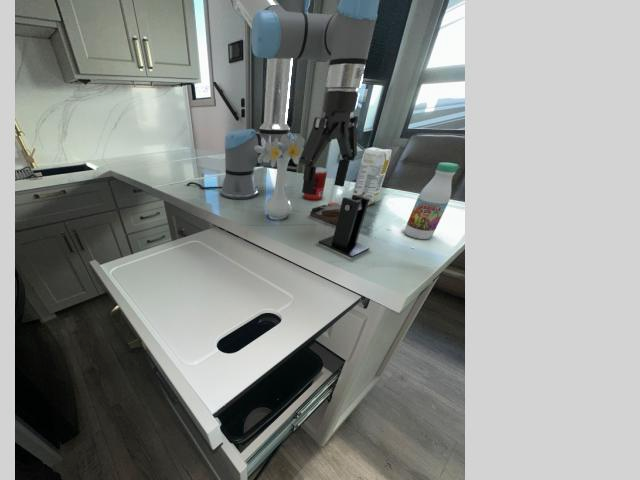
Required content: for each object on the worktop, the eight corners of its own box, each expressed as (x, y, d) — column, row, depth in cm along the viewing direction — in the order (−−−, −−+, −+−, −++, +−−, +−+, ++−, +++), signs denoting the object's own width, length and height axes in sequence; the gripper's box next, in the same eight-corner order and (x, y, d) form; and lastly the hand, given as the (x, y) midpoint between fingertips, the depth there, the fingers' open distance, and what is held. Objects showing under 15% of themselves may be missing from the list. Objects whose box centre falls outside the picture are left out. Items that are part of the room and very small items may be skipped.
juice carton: (368, 207, 102) (384, 151, 91) (348, 201, 108) (362, 148, 96) (377, 203, 106) (395, 149, 95) (358, 198, 111) (373, 146, 100)
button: (324, 208, 90) (326, 203, 89) (331, 206, 92) (332, 201, 91) (333, 211, 88) (334, 206, 87) (340, 209, 90) (341, 204, 88)
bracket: (318, 245, 76) (328, 195, 68) (335, 238, 80) (347, 190, 72) (351, 260, 69) (367, 207, 61) (368, 251, 73) (385, 201, 65)
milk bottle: (402, 228, 87) (430, 160, 74) (429, 231, 84) (462, 162, 72) (404, 237, 81) (435, 165, 69) (433, 241, 79) (470, 168, 66)
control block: (309, 217, 93) (311, 206, 91) (325, 212, 98) (328, 201, 95) (335, 227, 86) (338, 215, 84) (351, 221, 91) (354, 209, 88)
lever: (312, 215, 76) (311, 206, 75) (323, 211, 78) (322, 203, 78) (353, 212, 66) (353, 201, 65) (365, 208, 68) (365, 198, 67)
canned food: (320, 195, 114) (325, 167, 107) (323, 201, 108) (329, 171, 101) (302, 194, 115) (306, 166, 108) (304, 200, 108) (308, 171, 102)
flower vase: (264, 206, 102) (269, 129, 87) (307, 218, 93) (321, 134, 77) (243, 215, 94) (244, 133, 79) (287, 229, 85) (298, 138, 69)
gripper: (319, 89, 51) (302, 200, 64) (387, 91, 63) (362, 185, 76) (291, 89, 56) (281, 193, 69) (359, 91, 68) (340, 180, 81)
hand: (323, 189), depth 73 cm, fingers open, 13 cm apart
